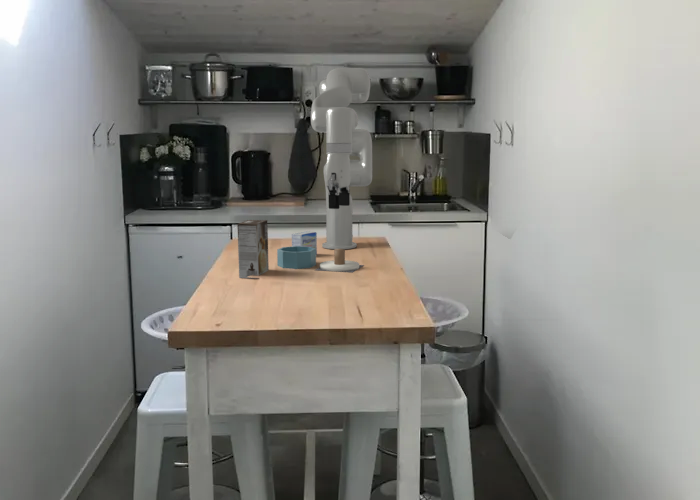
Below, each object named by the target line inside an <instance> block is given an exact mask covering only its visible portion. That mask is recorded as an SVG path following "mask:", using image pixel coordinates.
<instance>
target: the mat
mask: <svg viewBox="0 0 700 500" xmlns="http://www.w3.org/2000/svg"><path fill="white" fill-rule="evenodd" d="M364 266H365V265H364V264H363V265H362V264H359V269H361V268H362V267H364ZM359 269H357V270H359ZM357 270H353V271H341V272H340V273H351V274H352V273H355V272H356V271H357ZM315 271H321V272H327V271H326V270H322V269H320V266H319V267H317V268H316V269H315ZM331 272H336V273H339V272H338V271H331Z"/></svg>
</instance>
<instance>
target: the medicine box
mask: <svg viewBox="0 0 700 500" xmlns="http://www.w3.org/2000/svg"><path fill="white" fill-rule="evenodd" d="M317 234H318V233H317V232H316V231H311V230H309V231H308V230H307V231H303V232H297V233H296V232H295V233H292V234H291V246H304V247H312V248H315V249H316V256H317V254H318V246H317V242H318V240H317Z"/></svg>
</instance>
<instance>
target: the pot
mask: <svg viewBox="0 0 700 500" xmlns="http://www.w3.org/2000/svg"><path fill="white" fill-rule="evenodd" d="M276 255H277V258H276V260H277V261H276V262H277V266H278V267H280V268H282V269H290V270H291V269H292V270H293V269H295V270H298V269H299V270H300V269H311V268H313V267H315V266H317V255H316V249H315V248H312V247H304V246H292V245H291V246H281V248H277V253H276Z"/></svg>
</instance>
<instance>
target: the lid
mask: <svg viewBox="0 0 700 500" xmlns="http://www.w3.org/2000/svg"><path fill="white" fill-rule="evenodd" d="M333 250H334V251H333V253H334V254H333V256H334V258H333V260H326V261H322V262H320V263H319V267H320V269H322V270H326V271H325V272H332V271H338V272H337V273H342V272H341V271H353V270H356V271H357V269H358V270H359V269H360V268H359V265H360V263H359V262H357V261H354V260H347V259H346V249H333Z"/></svg>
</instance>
